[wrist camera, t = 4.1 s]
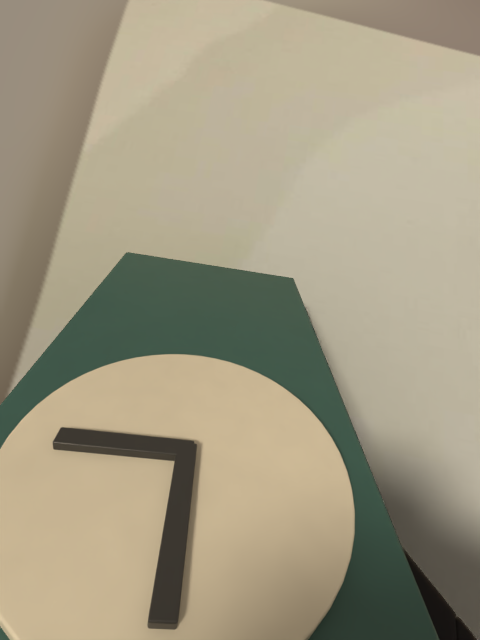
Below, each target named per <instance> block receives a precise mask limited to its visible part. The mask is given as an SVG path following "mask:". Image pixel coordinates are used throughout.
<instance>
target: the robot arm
mask: <svg viewBox="0 0 480 640" xmlns="http://www.w3.org/2000/svg"><path fill="white" fill-rule="evenodd" d="M402 549H403V547H402ZM403 551H404V554H405V556H406V558H407V561H408V563H409V566H410V568H411V571H412V573H413V576H414V578H415V581H416V583H417V586H418V588H419V591H420V593H421V596H422V598H423V601H424V603H425V605H426V608H427V610H428V613H429V615H430V618H431V620H432V623H433V625H434V628H435V630H436V633H437V635H438V638H439V640H477V639H476V638H475V636H474V635H473V634H472V633H471V631H470V630H469V629H468V628H467V627H466V625H465V624H464V623H463V622H462V620H461V619H460V618H459V617H456V614H455V612H454V611H453V609H452V608H451V607H450V606H449V604H448V603H447V602H446V601H445V599H444V598H443V597H442V596H441V594H440V593H439V592H438V591H437V590H436V588H435V587H434V586H433V585H432V583H431V582H430V581H429V580H428V578H427V577H426V576H425V575H424V573H423V572H422V571H421V570H420V568H419V567H418V566H417V565H416V563H415V562H414V561H413V560H412V558H411V557H410V556H409V555H408V554H407V552H406V551H405V550H404V549H403Z"/></svg>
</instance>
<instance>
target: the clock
mask: <svg viewBox="0 0 480 640" xmlns="http://www.w3.org/2000/svg"><path fill="white" fill-rule="evenodd" d="M0 640H439V638H438V635H437V633H436V630H435V628H434V625H433V623H432V620H431V618H430V615H429V613H428V610H427V608H426V605H425V603H424V601H423V598H422V596H421V593H420V591H419V588H418V586H417V583H416V581H415V578H414V576H413V573H412V571H411V568H410V566H409V563H408V561H407V558H406V556H405V554H404V551H403V549H402V546H401V544H400V541H399V539H398V536H397V534H396V531H395V529H394V526H393V524H392V521H391V519H390V516H389V514H388V512H387V509H386V507H385V504H384V502H383V499H382V497H381V494H380V492H379V489H378V487H377V484H376V482H375V479H374V477H373V474H372V472H371V470H370V467H369V465H368V462H367V460H366V457H365V455H364V452H363V450H362V447H361V445H360V442H359V440H358V437H357V435H356V432H355V430H354V427H353V425H352V423H351V420H350V418H349V415H348V413H347V410H346V408H345V405H344V403H343V400H342V398H341V395H340V393H339V390H338V388H337V385H336V383H335V381H334V378H333V376H332V373H331V371H330V368H329V366H328V363H327V361H326V358H325V356H324V353H323V351H322V348H321V346H320V343H319V341H318V338H317V336H316V334H315V331H314V329H313V326H312V324H311V321H310V319H309V316H308V314H307V311H306V309H305V306H304V304H303V301H302V299H301V296H300V294H299V292H298V289H297V287H296V284H295V282H294V279H293V278H288V277H282V276H275V275H269V274H262V273H256V272H250V271H243V270H237V269H231V268H224V267H218V266H211V265H205V264H199V263H192V262H186V261H180V260H173V259H167V258H160V257H154V256H148V255H141V254H135V253H129V252H127V253H126V254H125V255H124V256H123V257H122V259H121V260H120V261H119V262H118V263H117V265H116V266H115V267H114V268H113V269H112V271H111V272H110V273H109V274H108V275H107V277H106V278H105V279H104V280H103V282H102V283H101V284H100V285H99V286H98V288H97V289H96V290H95V291H94V292H93V294H92V295H91V296H90V297H89V298H88V300H87V301H86V302H85V303H84V305H83V306H82V307H81V308H80V309H79V311H78V312H77V313H76V314H75V315H74V317H73V318H72V319H71V320H70V321H69V323H68V324H67V325H66V326H65V328H64V329H63V330H62V331H61V332H60V334H59V335H58V336H57V337H56V338H55V340H54V341H53V342H52V343H51V344H50V346H49V347H48V348H47V349H46V350H45V352H44V353H43V354H42V355H41V357H40V358H39V359H38V360H37V361H36V363H35V364H34V365H33V366H32V367H31V369H30V370H29V371H28V372H27V373H26V375H25V376H24V377H23V378H22V380H21V381H20V382H19V383H18V384H17V386H16V387H15V388H14V389H13V390H12V392H11V393H10V394H9V395H8V396H7V398H6V399H5V400H4V401H3V403H2V404H1V405H0Z"/></svg>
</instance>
